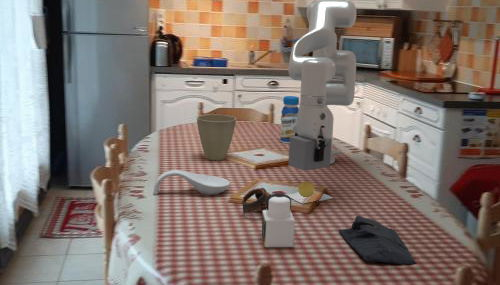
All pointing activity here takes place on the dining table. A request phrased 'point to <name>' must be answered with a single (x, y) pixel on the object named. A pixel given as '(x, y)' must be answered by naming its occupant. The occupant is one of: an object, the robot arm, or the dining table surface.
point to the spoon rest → (197, 182)
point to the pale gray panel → (325, 197)
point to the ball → (306, 189)
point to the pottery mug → (261, 200)
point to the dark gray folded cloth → (377, 242)
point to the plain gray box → (307, 153)
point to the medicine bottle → (278, 222)
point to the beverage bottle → (289, 118)
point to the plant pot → (216, 135)
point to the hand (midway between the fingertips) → (309, 157)
